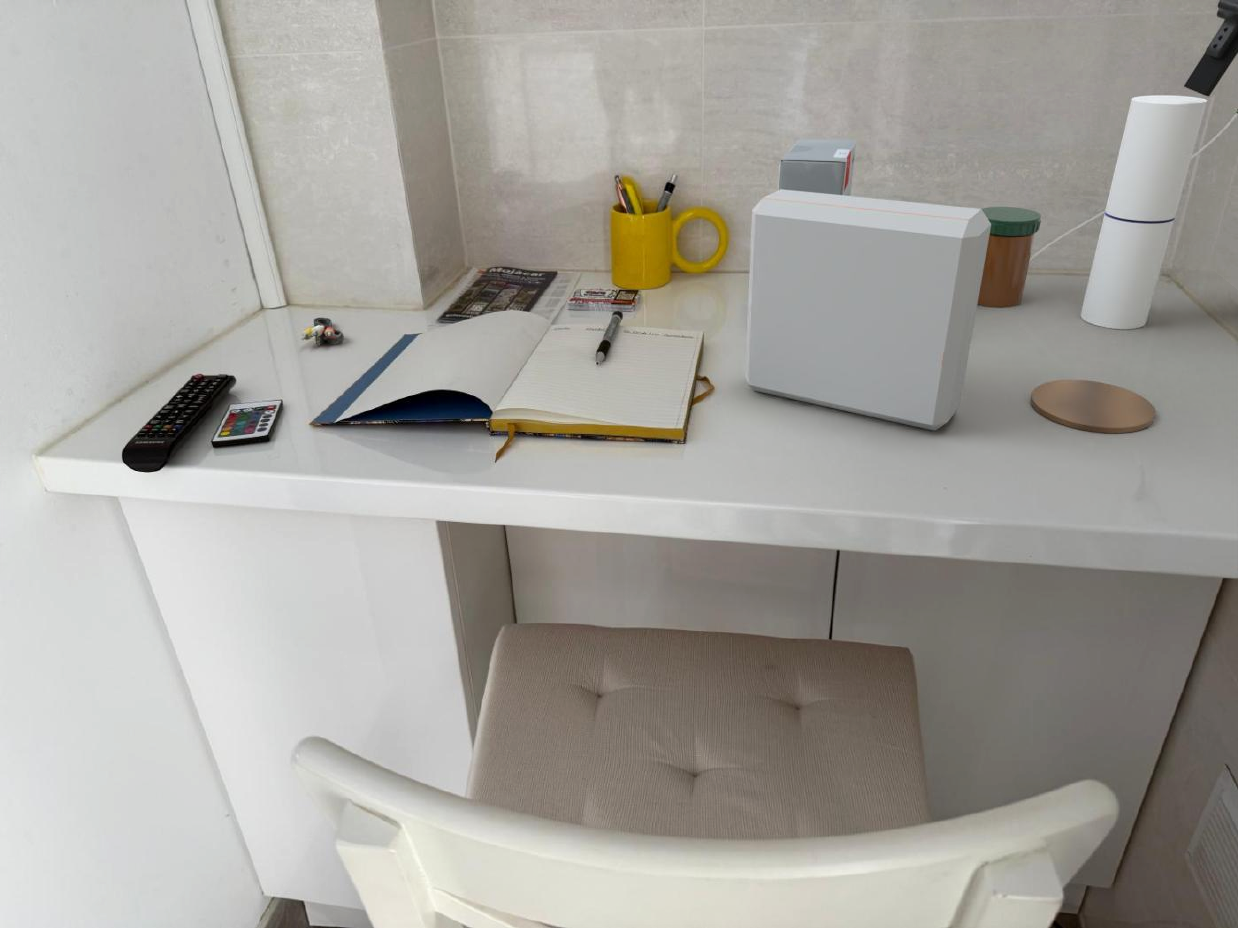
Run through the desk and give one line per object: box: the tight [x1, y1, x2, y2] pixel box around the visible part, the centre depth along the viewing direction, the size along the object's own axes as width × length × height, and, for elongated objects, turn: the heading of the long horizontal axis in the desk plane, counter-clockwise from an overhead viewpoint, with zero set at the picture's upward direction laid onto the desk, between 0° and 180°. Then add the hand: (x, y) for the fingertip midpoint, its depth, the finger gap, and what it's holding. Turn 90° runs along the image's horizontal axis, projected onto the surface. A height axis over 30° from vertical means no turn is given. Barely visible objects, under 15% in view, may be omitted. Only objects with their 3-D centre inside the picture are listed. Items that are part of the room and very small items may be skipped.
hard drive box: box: [777, 138, 857, 196], centre depth 110 cm, size 16×8×20 cm, turn 162°
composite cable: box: [300, 317, 345, 347], centre depth 111 cm, size 10×5×2 cm, turn 9°
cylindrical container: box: [1080, 94, 1208, 330], centre depth 101 cm, size 7×7×25 cm
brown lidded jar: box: [977, 233, 1036, 308], centre depth 113 cm, size 7×7×10 cm
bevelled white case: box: [744, 189, 991, 432], centre depth 85 cm, size 21×8×20 cm, turn 57°
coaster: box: [1030, 379, 1157, 434], centre depth 86 cm, size 11×11×1 cm
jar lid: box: [981, 206, 1042, 236], centre depth 110 cm, size 8×8×2 cm
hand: (1231, 103), depth 94 cm, fingers open, 13 cm apart
